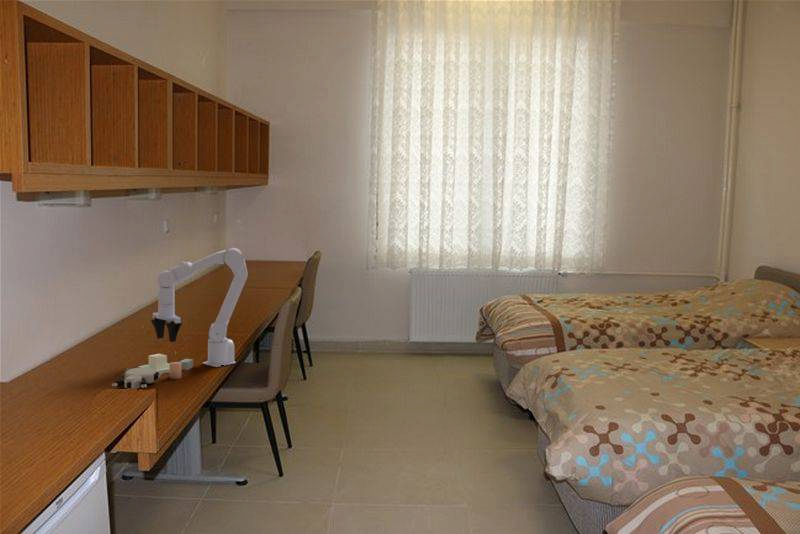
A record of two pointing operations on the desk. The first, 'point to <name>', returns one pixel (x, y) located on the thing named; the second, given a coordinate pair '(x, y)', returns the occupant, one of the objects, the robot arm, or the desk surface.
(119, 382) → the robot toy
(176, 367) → the pink rounded capsule
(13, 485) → the desk surface
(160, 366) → the cream block
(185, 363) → the slate block
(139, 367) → the tray
